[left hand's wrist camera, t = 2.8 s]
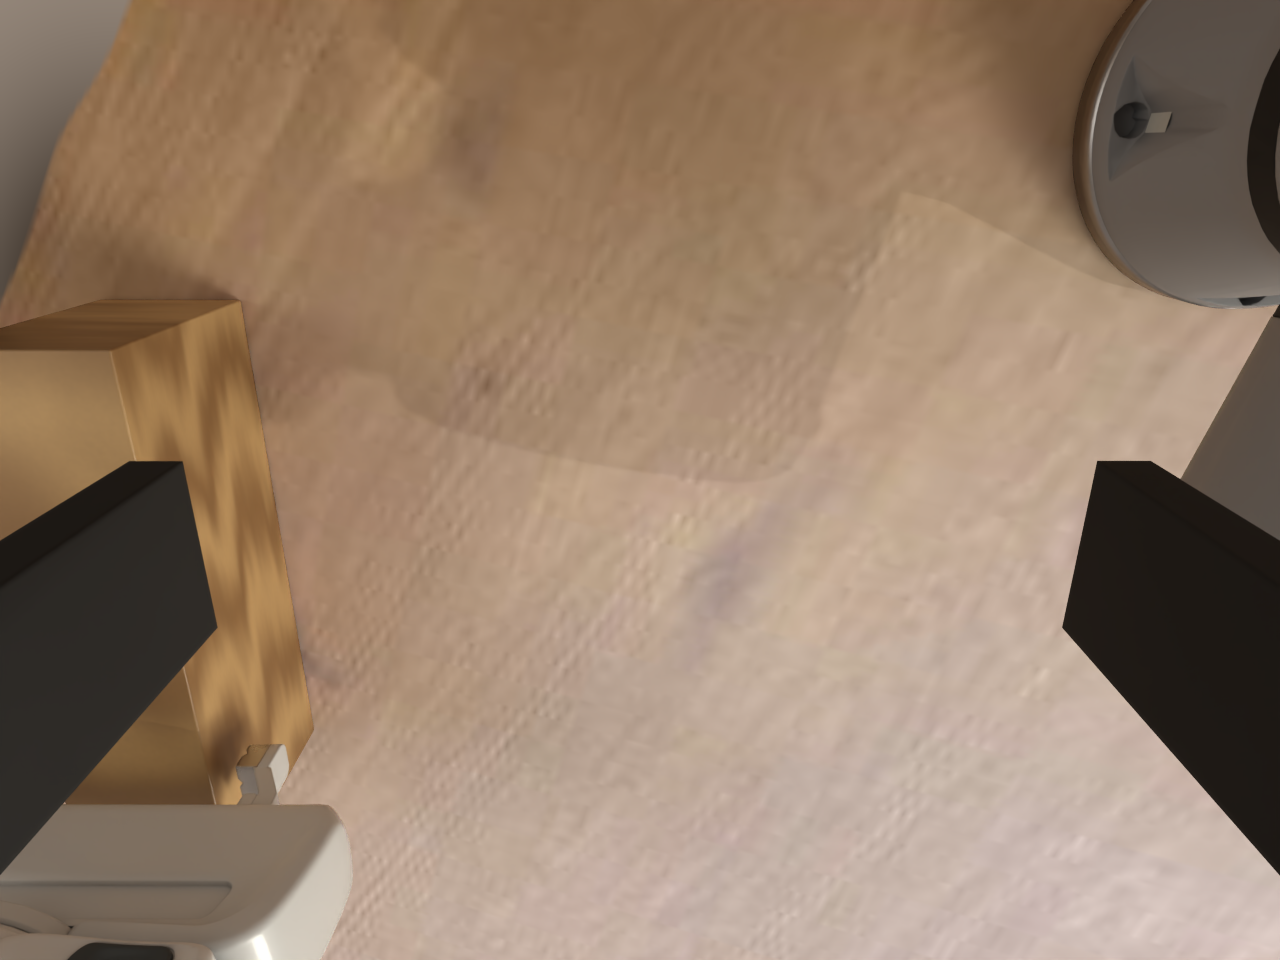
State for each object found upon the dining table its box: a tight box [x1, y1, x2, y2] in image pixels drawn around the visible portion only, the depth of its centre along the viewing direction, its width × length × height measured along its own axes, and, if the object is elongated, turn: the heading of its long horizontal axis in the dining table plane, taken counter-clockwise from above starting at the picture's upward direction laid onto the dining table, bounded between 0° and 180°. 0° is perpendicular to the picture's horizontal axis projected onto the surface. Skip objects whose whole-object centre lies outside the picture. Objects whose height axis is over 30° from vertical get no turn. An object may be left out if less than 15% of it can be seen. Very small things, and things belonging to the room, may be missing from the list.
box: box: [0, 300, 314, 805], centre depth 38 cm, size 24×6×10 cm, turn 0°
